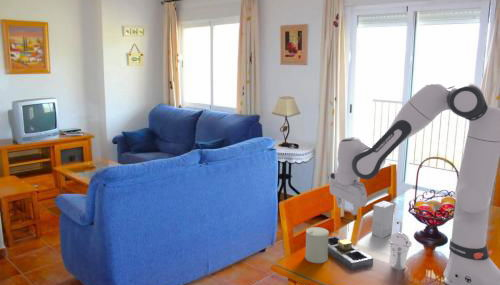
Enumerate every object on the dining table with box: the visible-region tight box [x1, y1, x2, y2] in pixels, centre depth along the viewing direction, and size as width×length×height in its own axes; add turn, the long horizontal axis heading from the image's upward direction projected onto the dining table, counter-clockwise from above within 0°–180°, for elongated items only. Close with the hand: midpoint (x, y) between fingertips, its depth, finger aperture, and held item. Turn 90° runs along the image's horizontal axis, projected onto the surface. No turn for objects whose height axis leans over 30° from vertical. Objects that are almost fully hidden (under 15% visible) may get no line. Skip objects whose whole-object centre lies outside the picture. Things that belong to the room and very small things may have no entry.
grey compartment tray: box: [328, 235, 374, 271], centre depth 178 cm, size 24×10×3 cm, turn 24°
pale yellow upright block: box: [338, 238, 353, 253], centre depth 178 cm, size 4×4×6 cm
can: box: [304, 226, 330, 264], centre depth 175 cm, size 9×9×12 cm
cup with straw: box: [388, 220, 413, 270], centre depth 166 cm, size 8×9×20 cm
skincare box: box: [371, 200, 395, 239], centre depth 198 cm, size 8×6×15 cm
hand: (346, 210), depth 175 cm, fingers open, 8 cm apart
